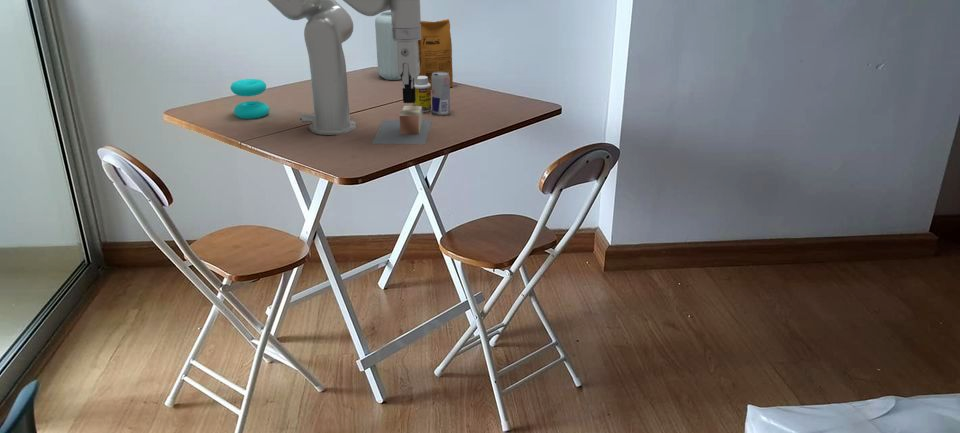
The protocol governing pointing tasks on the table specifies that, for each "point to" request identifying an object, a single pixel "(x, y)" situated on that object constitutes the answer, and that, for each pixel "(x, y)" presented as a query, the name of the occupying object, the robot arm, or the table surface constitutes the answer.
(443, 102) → the energy drink
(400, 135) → the rubber mat
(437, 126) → the table surface
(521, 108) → the table surface
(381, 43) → the vase
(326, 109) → the robot arm
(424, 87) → the supplement bottle
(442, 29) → the coffee package
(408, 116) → the birch block
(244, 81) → the donuts
